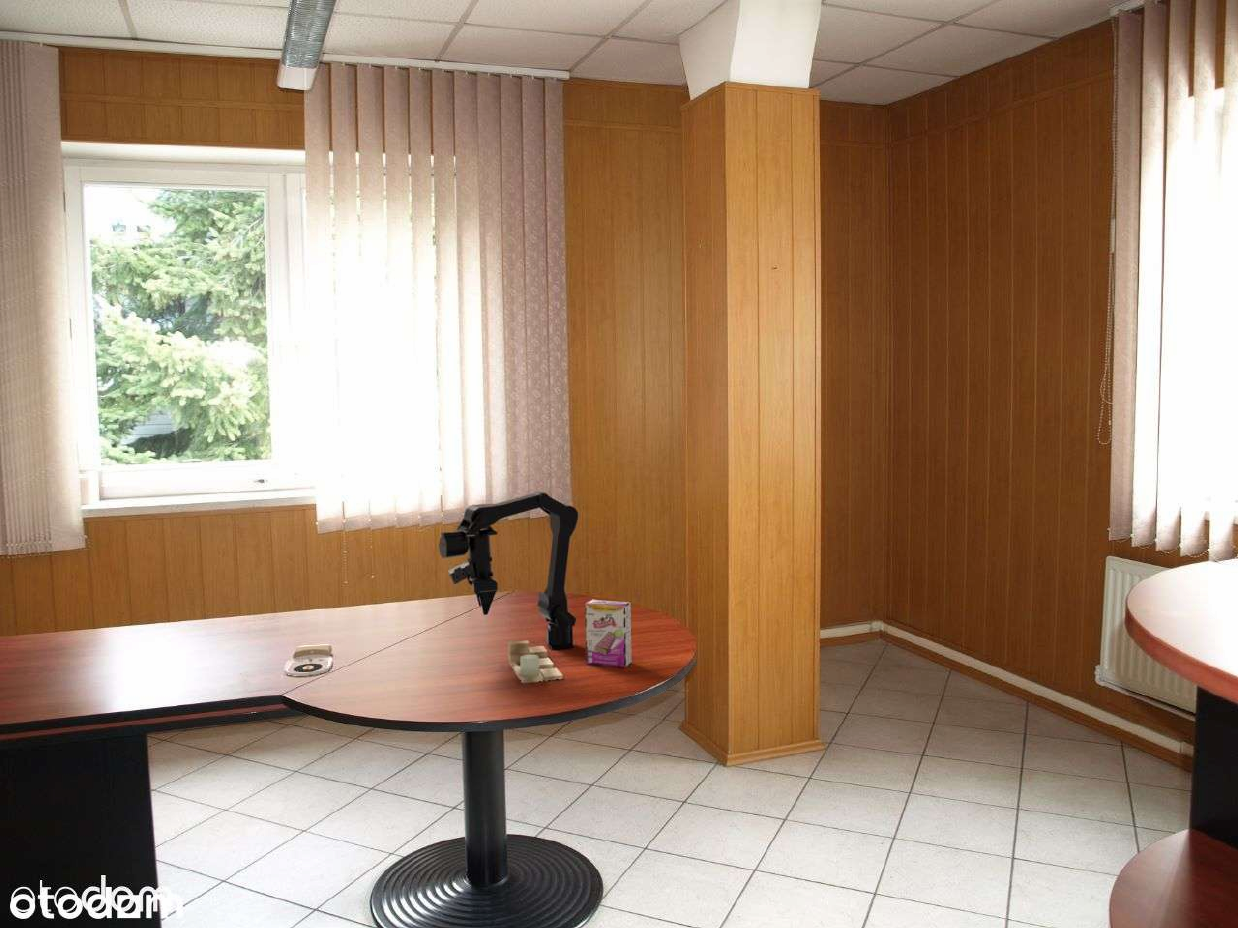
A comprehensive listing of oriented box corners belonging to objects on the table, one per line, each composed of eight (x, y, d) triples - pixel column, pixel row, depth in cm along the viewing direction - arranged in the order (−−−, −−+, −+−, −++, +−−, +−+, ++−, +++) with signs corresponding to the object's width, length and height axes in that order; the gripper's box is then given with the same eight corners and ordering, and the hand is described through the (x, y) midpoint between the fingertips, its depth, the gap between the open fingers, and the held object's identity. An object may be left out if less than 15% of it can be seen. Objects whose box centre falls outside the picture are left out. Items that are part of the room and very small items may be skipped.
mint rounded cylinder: (537, 671, 266) (536, 653, 265) (540, 676, 262) (540, 658, 261) (519, 672, 265) (518, 655, 264) (522, 678, 260) (522, 660, 260)
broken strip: (543, 654, 284) (543, 645, 284) (562, 678, 262) (562, 669, 262) (527, 655, 283) (527, 647, 283) (545, 680, 261) (545, 671, 261)
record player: (335, 643, 290) (328, 665, 270) (336, 654, 290) (328, 677, 270) (291, 646, 288) (280, 668, 268) (292, 657, 288) (281, 680, 269)
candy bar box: (585, 665, 274) (584, 603, 272) (592, 659, 278) (590, 598, 277) (626, 668, 270) (625, 605, 268) (632, 662, 275) (631, 601, 273)
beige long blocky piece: (528, 660, 279) (527, 640, 278) (543, 681, 261) (542, 659, 260) (508, 662, 277) (508, 642, 277) (522, 683, 259) (521, 661, 259)
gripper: (445, 549, 285) (449, 605, 287) (452, 562, 267) (456, 622, 269) (486, 545, 288) (490, 601, 290) (496, 558, 270) (499, 617, 272)
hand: (483, 610), depth 280 cm, fingers open, 9 cm apart
